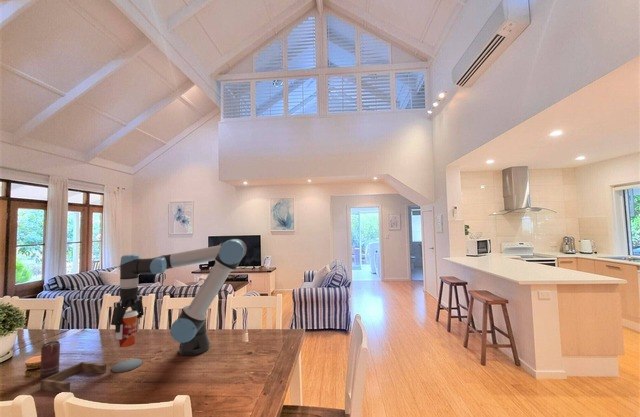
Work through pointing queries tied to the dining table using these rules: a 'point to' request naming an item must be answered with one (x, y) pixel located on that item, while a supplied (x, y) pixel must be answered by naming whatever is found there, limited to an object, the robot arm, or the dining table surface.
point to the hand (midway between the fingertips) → (127, 335)
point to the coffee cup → (128, 328)
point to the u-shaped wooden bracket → (56, 380)
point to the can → (50, 359)
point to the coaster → (127, 365)
